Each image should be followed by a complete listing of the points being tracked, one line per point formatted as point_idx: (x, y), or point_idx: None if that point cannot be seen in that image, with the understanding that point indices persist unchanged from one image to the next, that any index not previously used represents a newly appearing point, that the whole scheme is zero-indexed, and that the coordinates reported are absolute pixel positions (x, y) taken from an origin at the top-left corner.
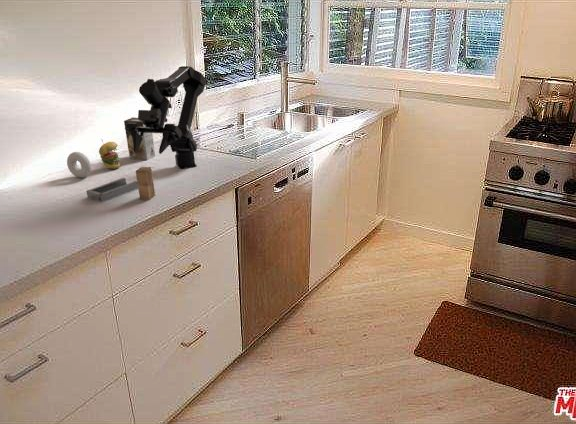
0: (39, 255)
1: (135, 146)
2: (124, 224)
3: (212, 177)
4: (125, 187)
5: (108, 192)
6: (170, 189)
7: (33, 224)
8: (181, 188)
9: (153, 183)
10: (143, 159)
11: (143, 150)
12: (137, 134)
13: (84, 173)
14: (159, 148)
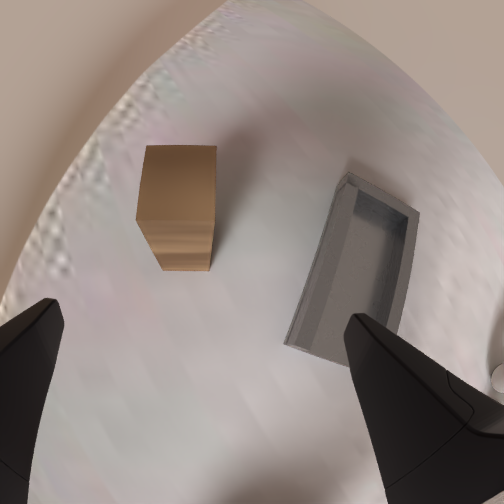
0: (271, 4)
1: (382, 342)
2: (175, 67)
3: (36, 479)
4: (315, 276)
5: (341, 199)
6: (126, 350)
7: (383, 80)
8: (85, 364)
9: (154, 254)
10: None
11: None
12: (474, 480)
13: (500, 366)
14: (35, 321)
